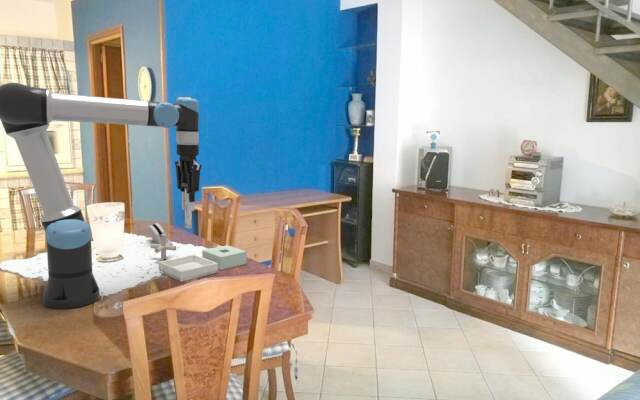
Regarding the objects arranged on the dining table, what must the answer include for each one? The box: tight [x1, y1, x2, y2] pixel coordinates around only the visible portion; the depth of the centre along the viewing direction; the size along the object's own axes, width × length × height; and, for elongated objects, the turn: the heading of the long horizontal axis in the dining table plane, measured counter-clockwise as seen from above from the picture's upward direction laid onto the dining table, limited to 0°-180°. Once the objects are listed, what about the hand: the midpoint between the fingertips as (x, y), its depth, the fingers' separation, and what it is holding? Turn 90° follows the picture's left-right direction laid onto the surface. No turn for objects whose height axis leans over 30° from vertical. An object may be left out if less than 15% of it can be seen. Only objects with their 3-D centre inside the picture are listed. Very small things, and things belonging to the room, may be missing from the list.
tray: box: [158, 254, 219, 283], centre depth 172 cm, size 15×15×4 cm
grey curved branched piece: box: [147, 222, 174, 246], centre depth 207 cm, size 17×5×10 cm, turn 32°
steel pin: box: [182, 182, 193, 229], centre depth 168 cm, size 4×4×16 cm
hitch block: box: [201, 244, 247, 271], centre depth 183 cm, size 12×12×5 cm
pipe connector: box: [150, 233, 177, 260], centre depth 184 cm, size 10×10×10 cm
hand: (188, 210), depth 168 cm, fingers closed on steel pin, 2 cm apart
